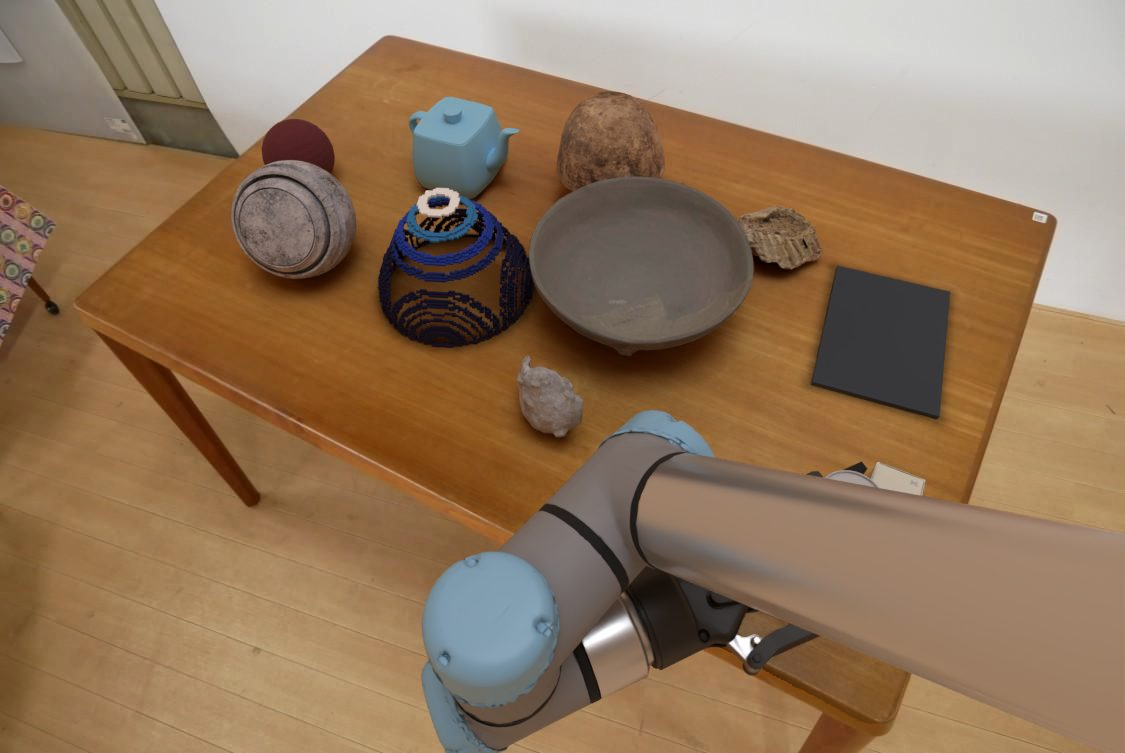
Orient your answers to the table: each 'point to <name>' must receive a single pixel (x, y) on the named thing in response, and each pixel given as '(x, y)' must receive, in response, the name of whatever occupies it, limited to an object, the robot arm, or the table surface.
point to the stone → (548, 399)
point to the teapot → (458, 146)
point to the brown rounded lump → (609, 141)
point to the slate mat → (884, 341)
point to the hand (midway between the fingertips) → (883, 504)
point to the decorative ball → (298, 144)
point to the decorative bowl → (402, 246)
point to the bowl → (641, 263)
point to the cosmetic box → (896, 479)
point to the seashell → (781, 236)
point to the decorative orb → (293, 219)
